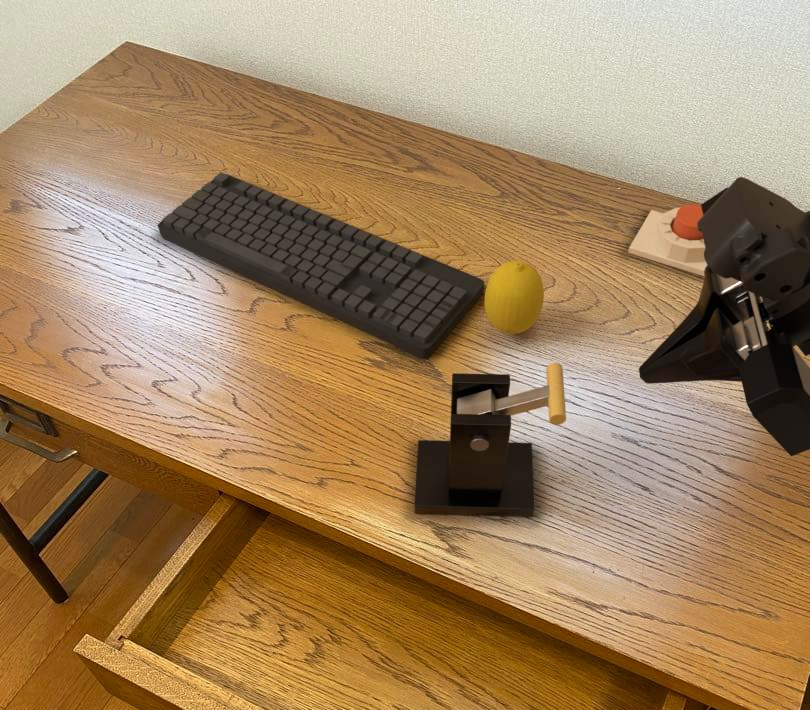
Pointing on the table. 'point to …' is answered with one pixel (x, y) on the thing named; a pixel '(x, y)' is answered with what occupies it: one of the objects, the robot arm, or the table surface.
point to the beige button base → (668, 244)
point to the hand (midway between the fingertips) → (642, 376)
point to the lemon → (514, 297)
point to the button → (688, 222)
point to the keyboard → (325, 263)
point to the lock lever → (521, 399)
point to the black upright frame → (475, 461)
